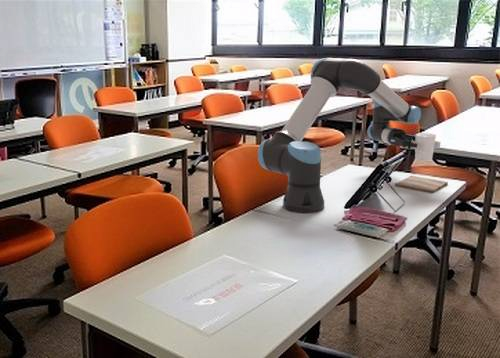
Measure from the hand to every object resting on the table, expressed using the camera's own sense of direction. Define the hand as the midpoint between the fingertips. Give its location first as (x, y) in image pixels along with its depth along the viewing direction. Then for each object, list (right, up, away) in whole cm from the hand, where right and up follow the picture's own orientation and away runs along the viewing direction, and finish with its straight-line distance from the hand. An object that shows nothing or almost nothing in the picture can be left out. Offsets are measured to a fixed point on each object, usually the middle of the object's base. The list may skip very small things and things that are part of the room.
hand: (431, 146), depth 206 cm
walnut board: (-1, -16, +8) cm, 18 cm away
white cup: (-1, -5, +5) cm, 7 cm away
